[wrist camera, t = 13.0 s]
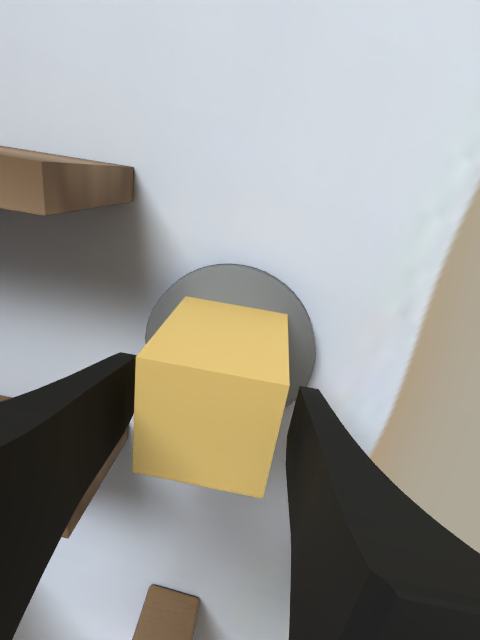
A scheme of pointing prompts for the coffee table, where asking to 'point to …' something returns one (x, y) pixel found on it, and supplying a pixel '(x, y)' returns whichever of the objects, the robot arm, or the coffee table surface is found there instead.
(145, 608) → the wooden block
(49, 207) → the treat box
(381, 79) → the coffee table surface
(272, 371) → the ochre block
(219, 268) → the coaster
